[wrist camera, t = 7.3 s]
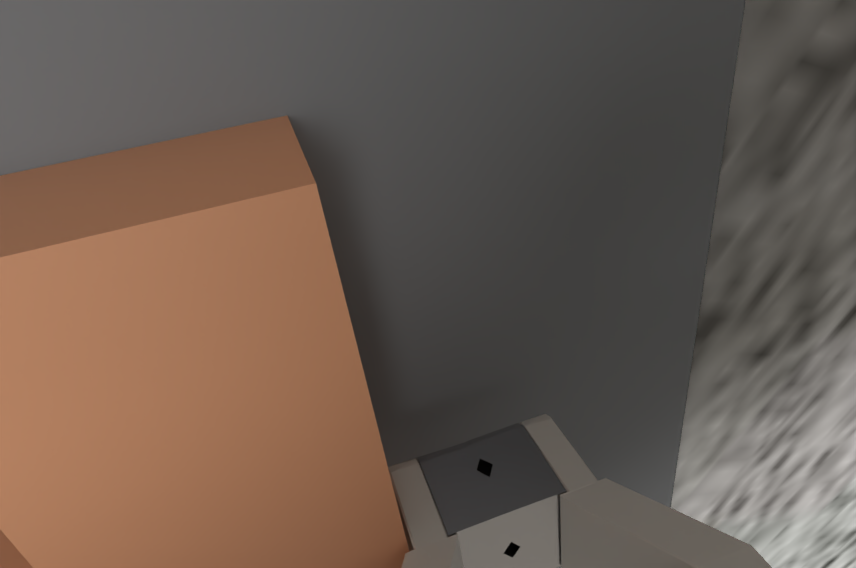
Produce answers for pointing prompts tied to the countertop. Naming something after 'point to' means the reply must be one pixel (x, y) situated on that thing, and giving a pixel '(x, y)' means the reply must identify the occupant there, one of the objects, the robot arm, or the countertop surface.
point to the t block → (183, 366)
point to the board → (446, 184)
